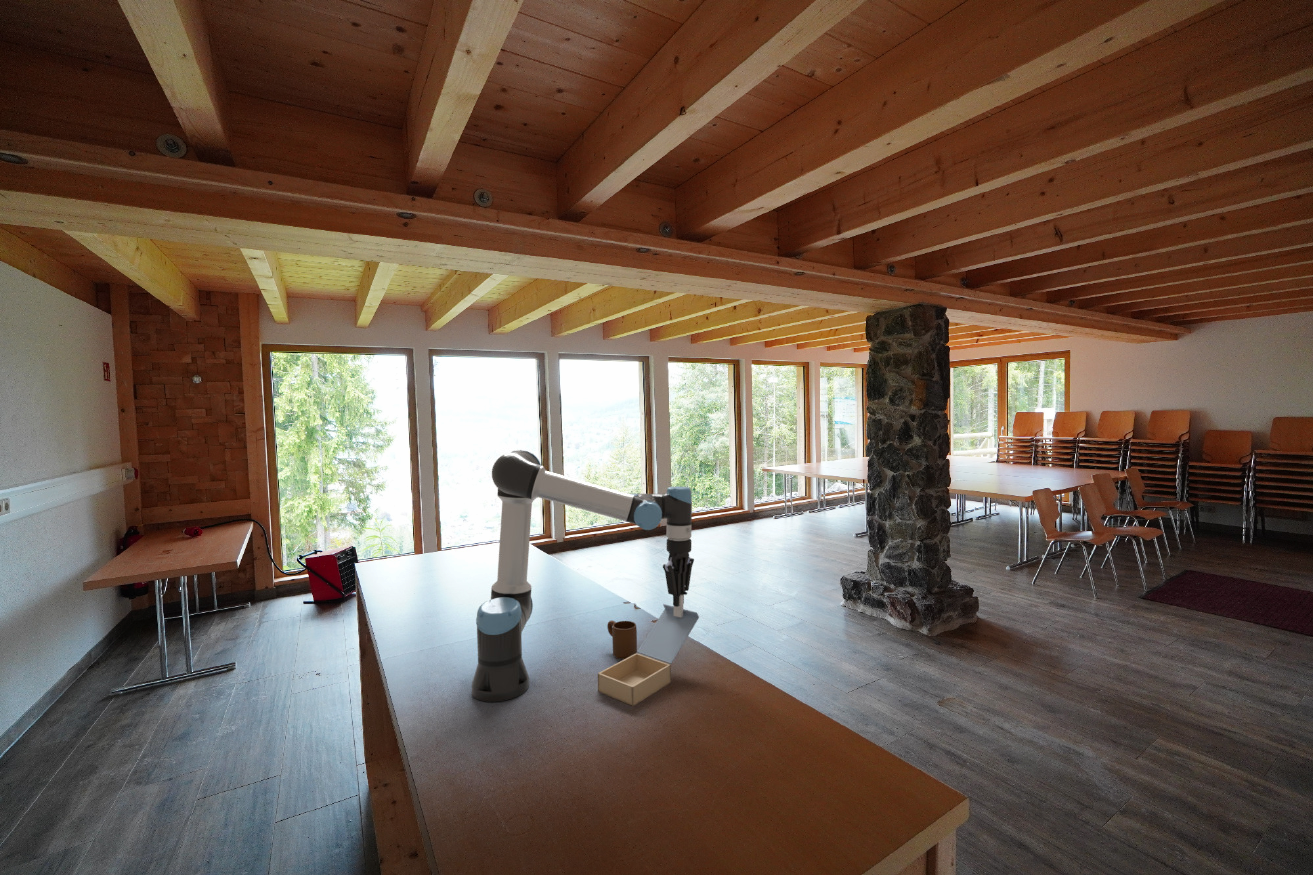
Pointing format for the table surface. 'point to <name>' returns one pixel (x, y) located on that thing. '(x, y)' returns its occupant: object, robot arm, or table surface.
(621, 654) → the mug
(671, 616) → the lid
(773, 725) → the table surface
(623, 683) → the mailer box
